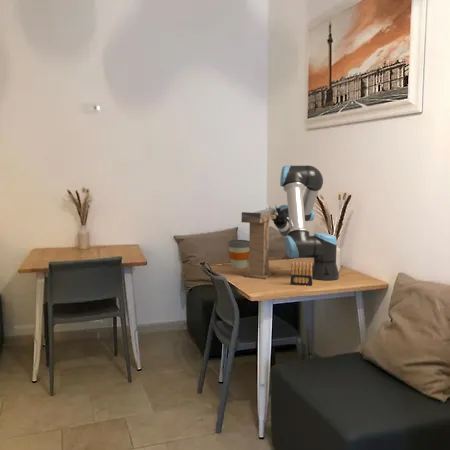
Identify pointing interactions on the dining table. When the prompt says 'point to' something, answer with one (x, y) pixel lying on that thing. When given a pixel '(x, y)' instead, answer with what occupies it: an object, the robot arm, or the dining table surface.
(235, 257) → the reusable coffee cup
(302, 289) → the dining table surface
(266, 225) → the stand
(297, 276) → the ammunition clip
